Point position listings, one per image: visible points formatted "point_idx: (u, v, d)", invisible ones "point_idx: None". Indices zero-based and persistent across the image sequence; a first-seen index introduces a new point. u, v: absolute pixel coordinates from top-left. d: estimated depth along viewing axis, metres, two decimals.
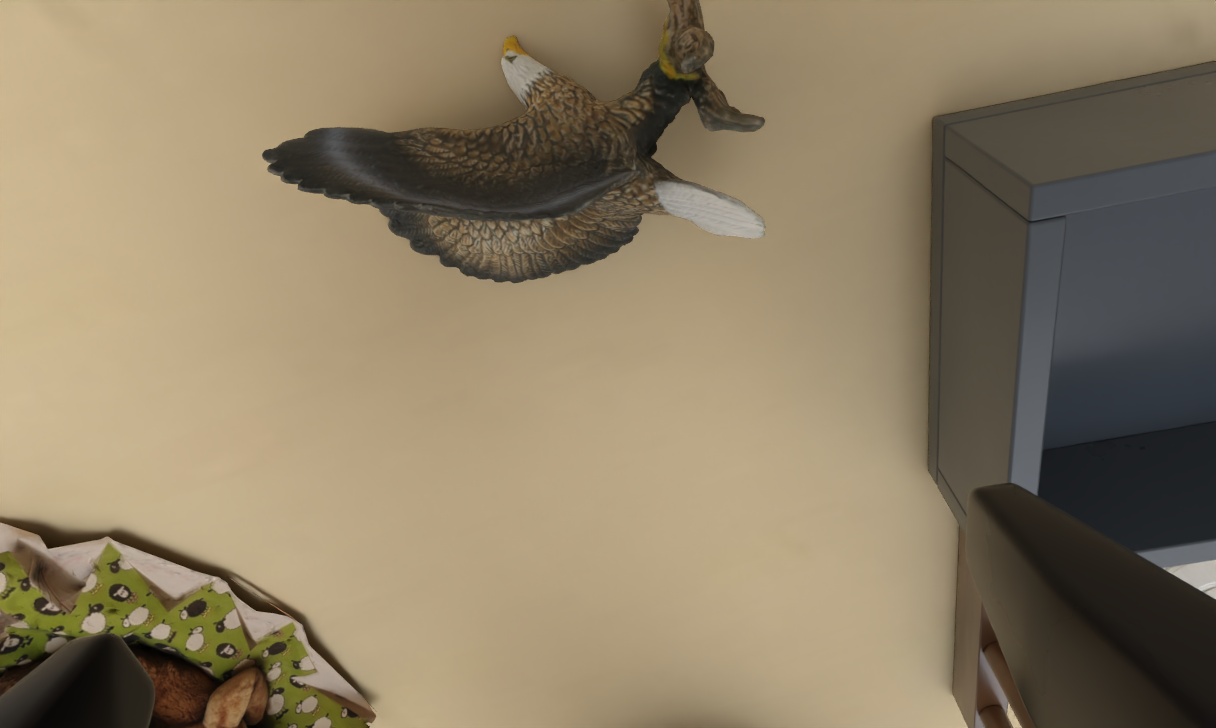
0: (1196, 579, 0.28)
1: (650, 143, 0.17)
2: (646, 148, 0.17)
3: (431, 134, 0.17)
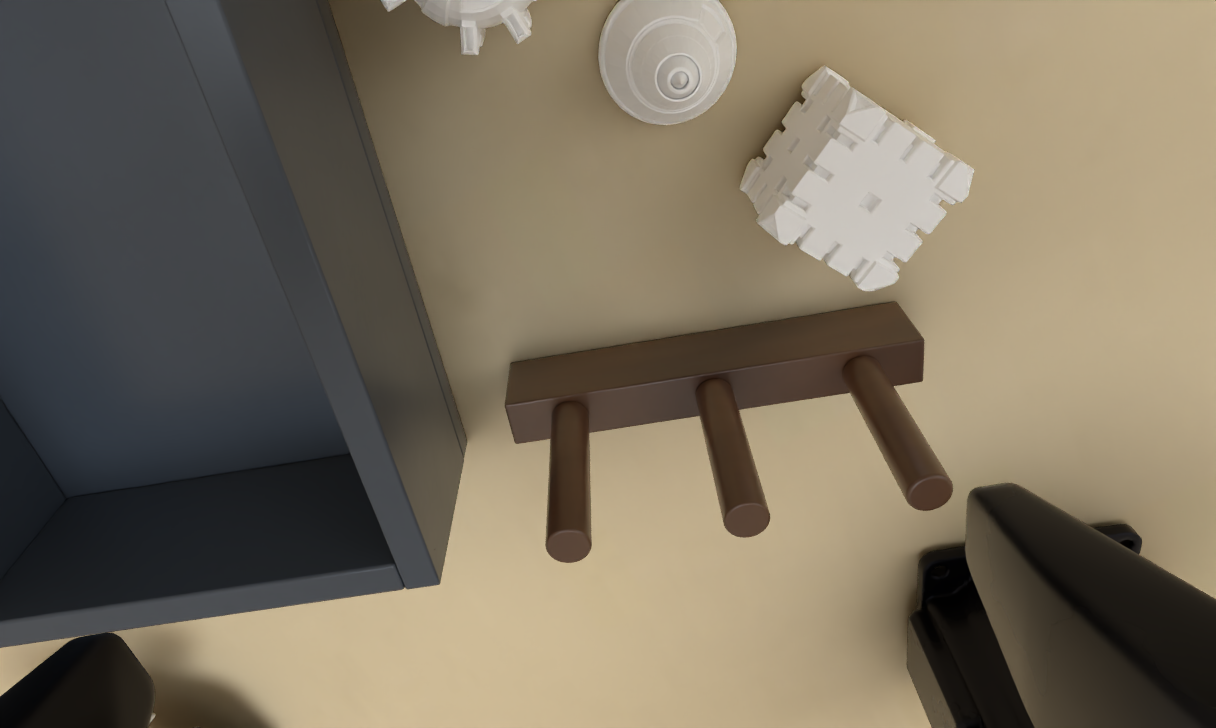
0: (630, 95, 0.17)
1: None
2: None
3: None
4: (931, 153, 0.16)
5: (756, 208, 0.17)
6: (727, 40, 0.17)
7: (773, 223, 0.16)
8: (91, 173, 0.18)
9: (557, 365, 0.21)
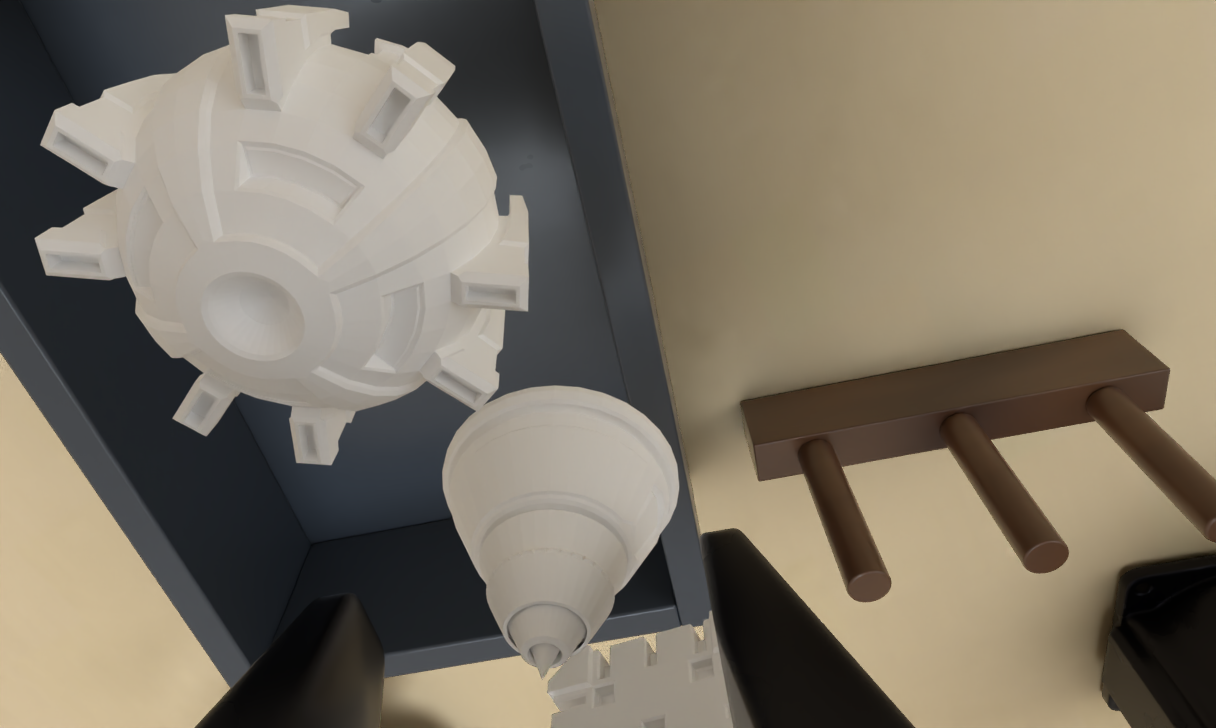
0: (466, 540, 0.09)
1: None
2: None
3: None
4: None
5: None
6: (655, 542, 0.10)
7: None
8: None
9: (791, 403, 0.21)
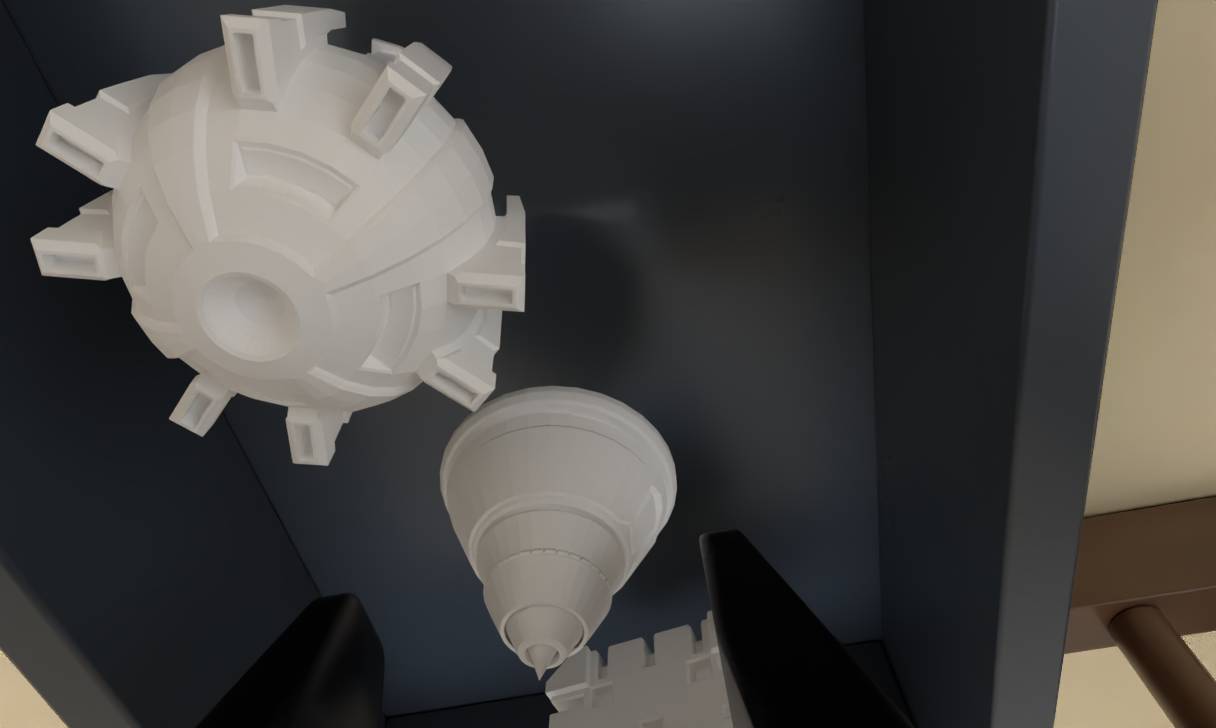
0: (463, 540, 0.09)
1: None
2: None
3: None
4: None
5: None
6: (652, 542, 0.10)
7: None
8: (523, 321, 0.12)
9: None
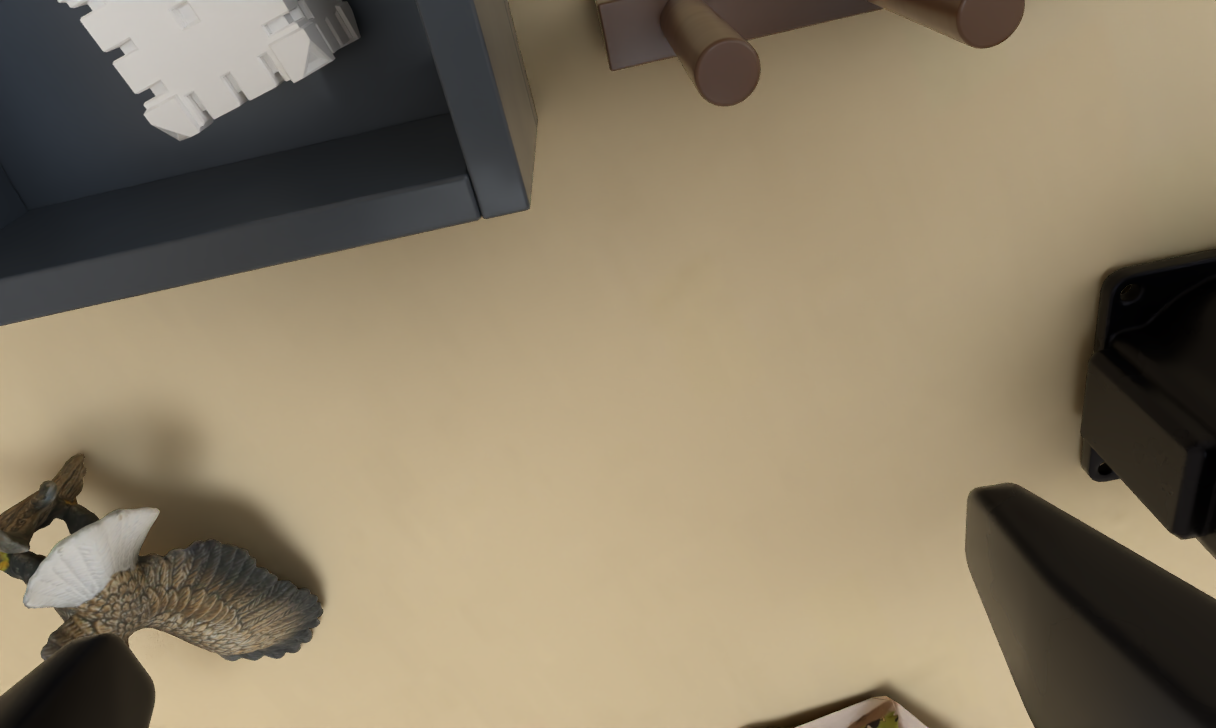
0: None
1: None
2: None
3: None
4: None
5: None
6: None
7: None
8: None
9: None
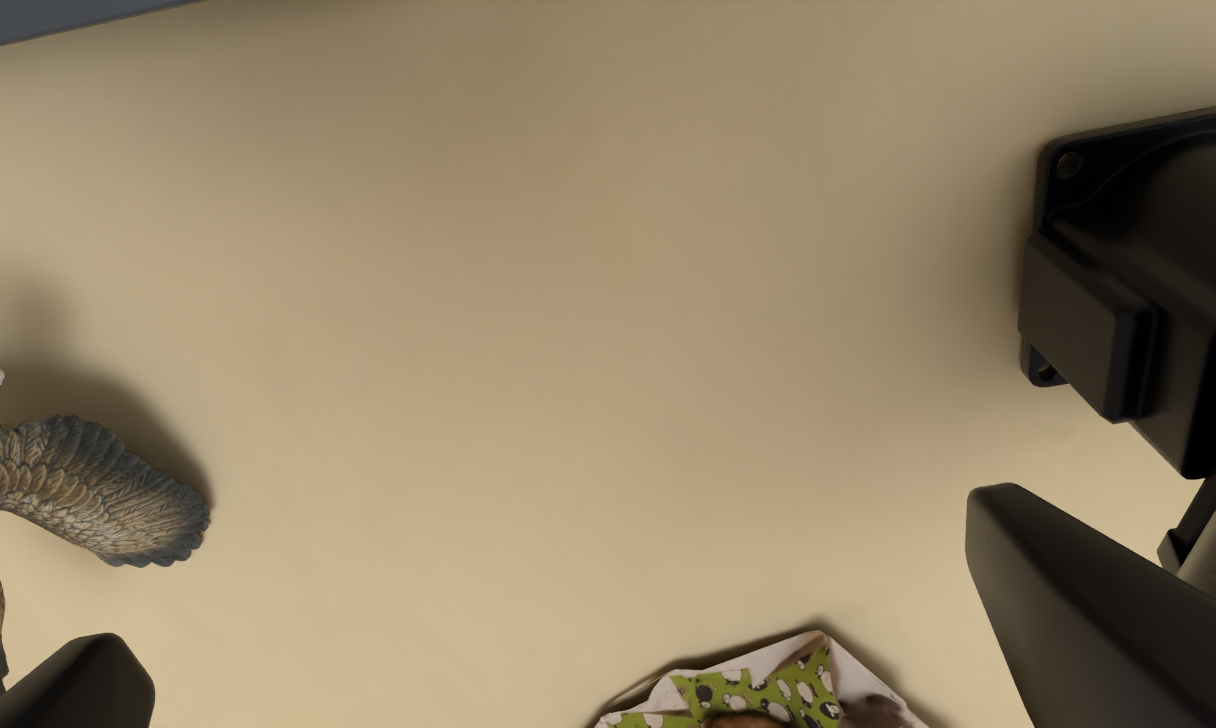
0: None
1: None
2: None
3: None
4: None
5: None
6: None
7: None
8: None
9: None
